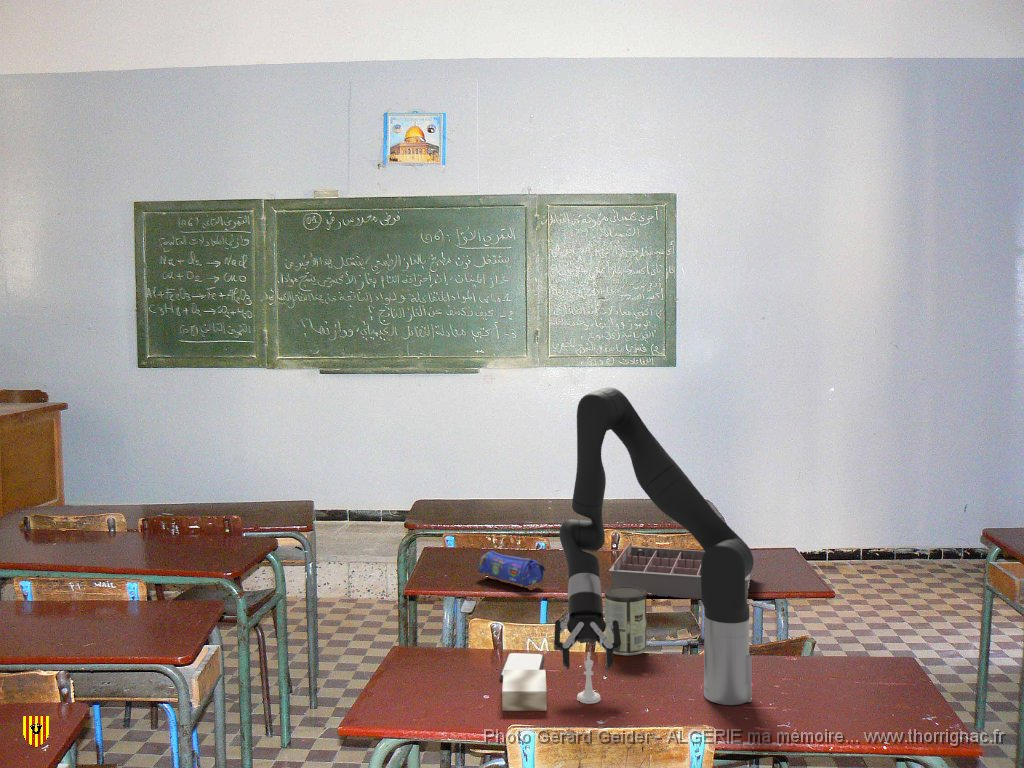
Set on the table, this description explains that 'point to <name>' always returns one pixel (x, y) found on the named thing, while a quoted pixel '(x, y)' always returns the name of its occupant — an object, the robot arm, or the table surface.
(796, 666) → the table surface
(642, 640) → the coffee can
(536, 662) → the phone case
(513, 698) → the birch stand
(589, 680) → the chess piece
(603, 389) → the robot arm
